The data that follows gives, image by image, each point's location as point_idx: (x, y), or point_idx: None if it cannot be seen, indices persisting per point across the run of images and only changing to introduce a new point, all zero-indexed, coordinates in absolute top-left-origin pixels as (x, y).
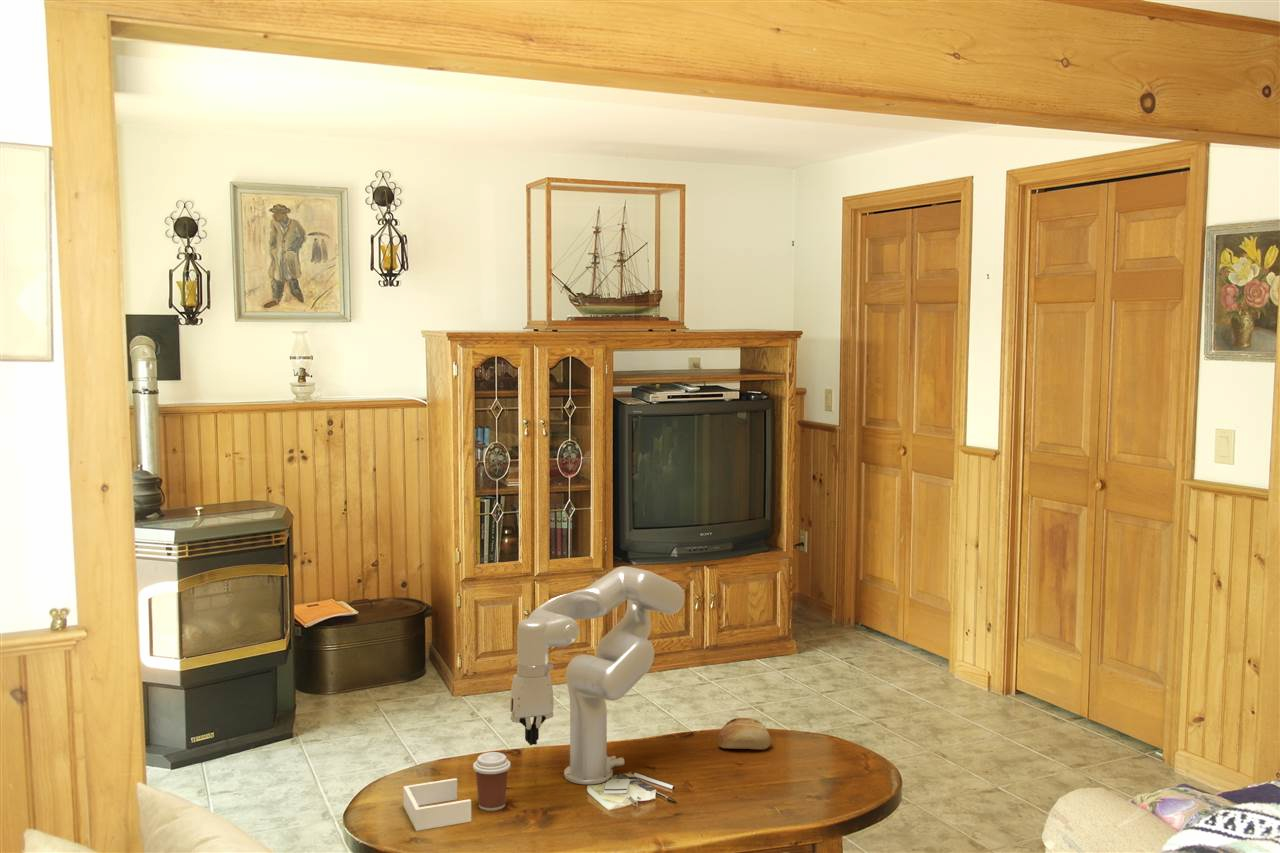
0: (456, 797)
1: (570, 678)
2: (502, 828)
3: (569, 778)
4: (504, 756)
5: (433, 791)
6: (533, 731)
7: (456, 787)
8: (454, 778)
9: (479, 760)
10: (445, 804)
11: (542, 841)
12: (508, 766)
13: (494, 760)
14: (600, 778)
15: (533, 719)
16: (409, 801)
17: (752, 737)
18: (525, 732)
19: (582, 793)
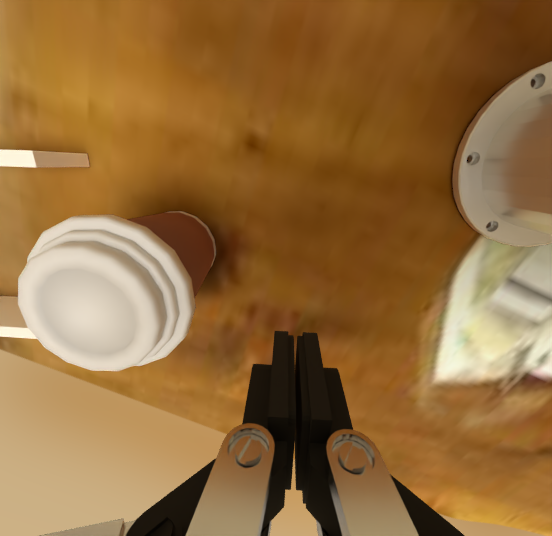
0: (82, 166)
1: None
2: (180, 365)
3: (457, 188)
4: (148, 331)
5: None
6: (296, 460)
7: (57, 166)
8: (25, 151)
9: (27, 324)
10: (10, 333)
11: None
12: (173, 348)
13: (100, 340)
14: (540, 240)
15: (338, 506)
16: None
17: None
18: (247, 404)
19: (435, 279)
